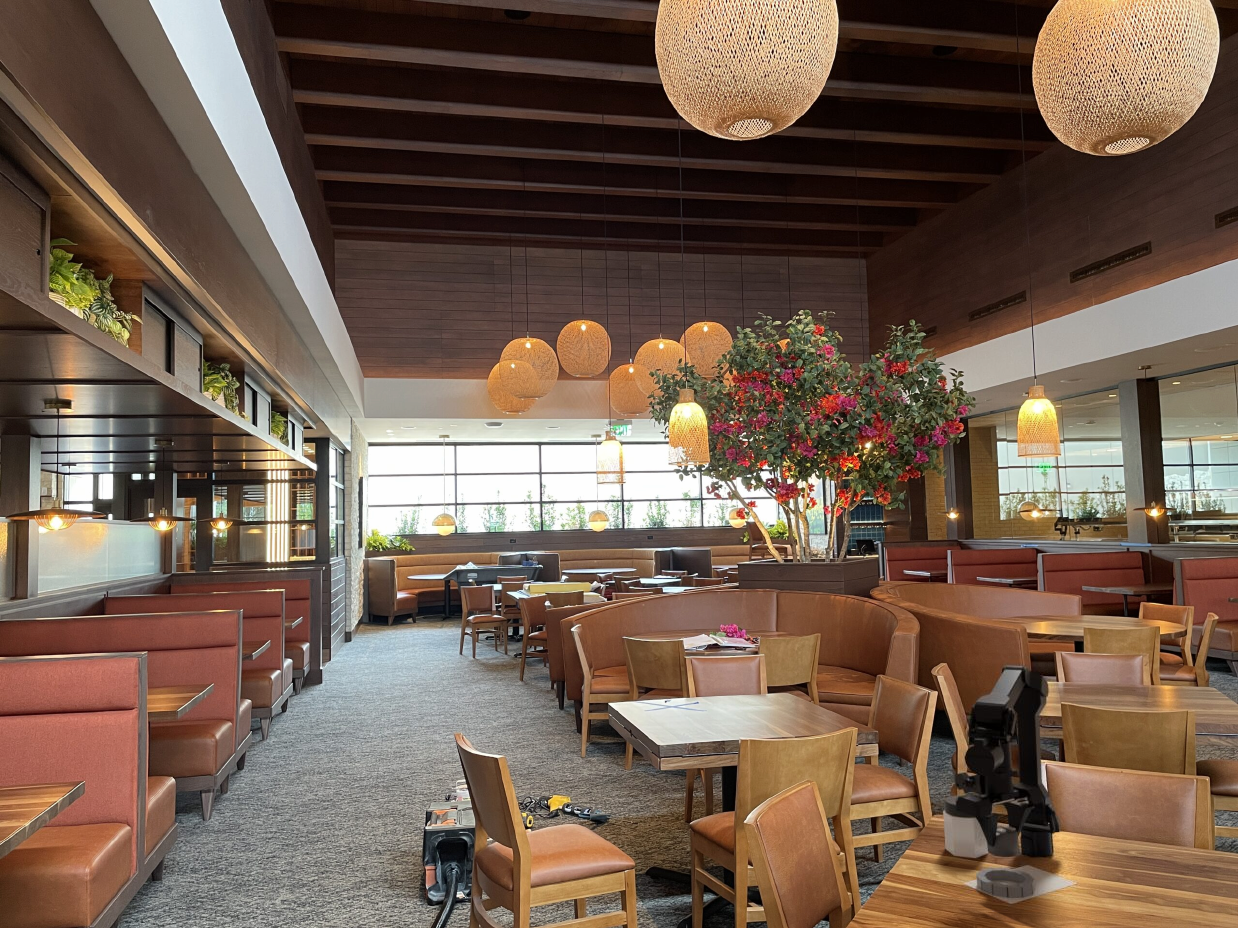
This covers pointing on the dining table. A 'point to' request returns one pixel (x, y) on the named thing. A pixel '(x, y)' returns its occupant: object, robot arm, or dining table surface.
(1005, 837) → the cap
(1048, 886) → the plate
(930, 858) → the dining table surface
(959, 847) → the jar
